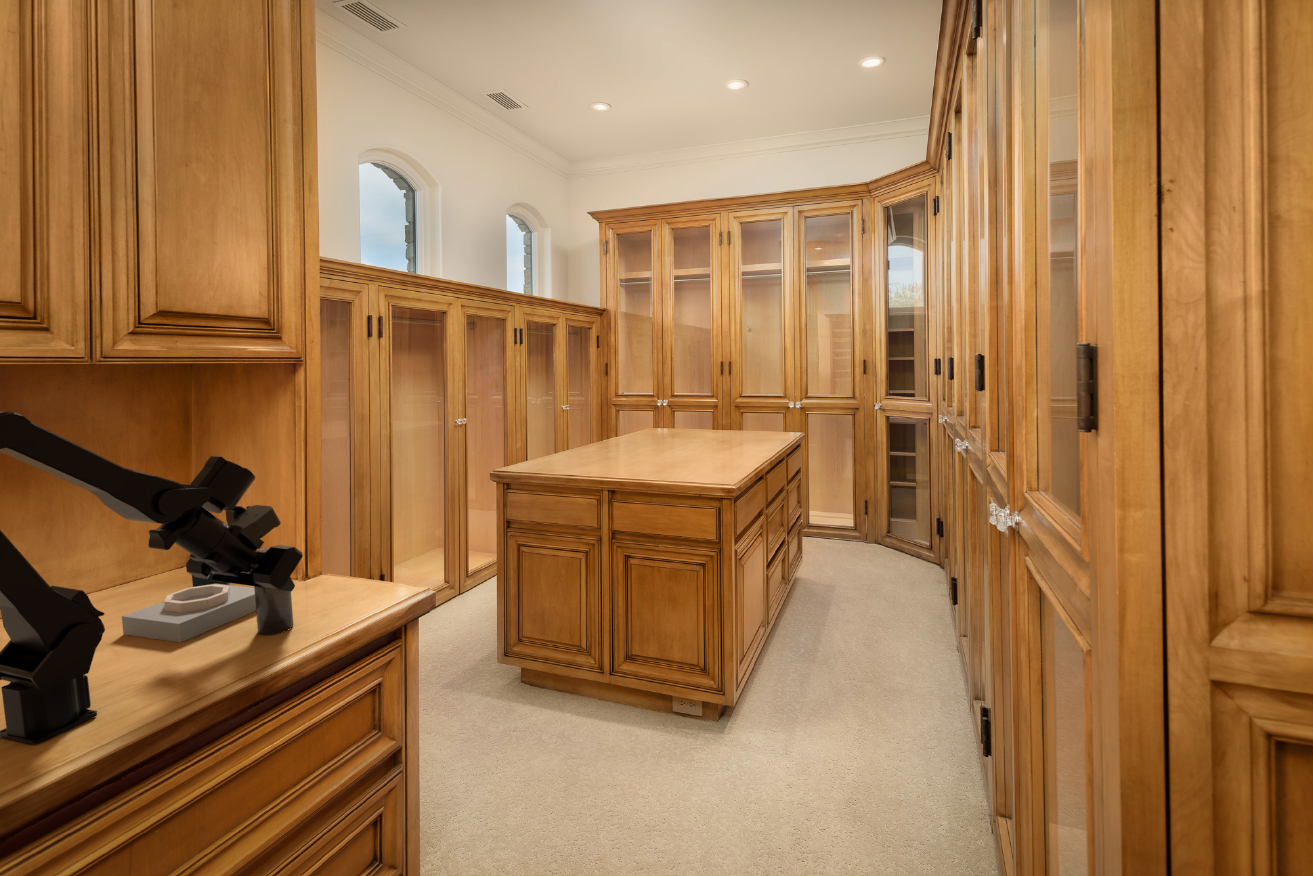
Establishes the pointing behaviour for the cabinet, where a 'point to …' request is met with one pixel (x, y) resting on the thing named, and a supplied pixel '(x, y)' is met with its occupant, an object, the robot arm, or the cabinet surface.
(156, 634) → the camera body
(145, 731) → the cabinet surface
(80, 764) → the cabinet surface
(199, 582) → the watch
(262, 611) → the lens
